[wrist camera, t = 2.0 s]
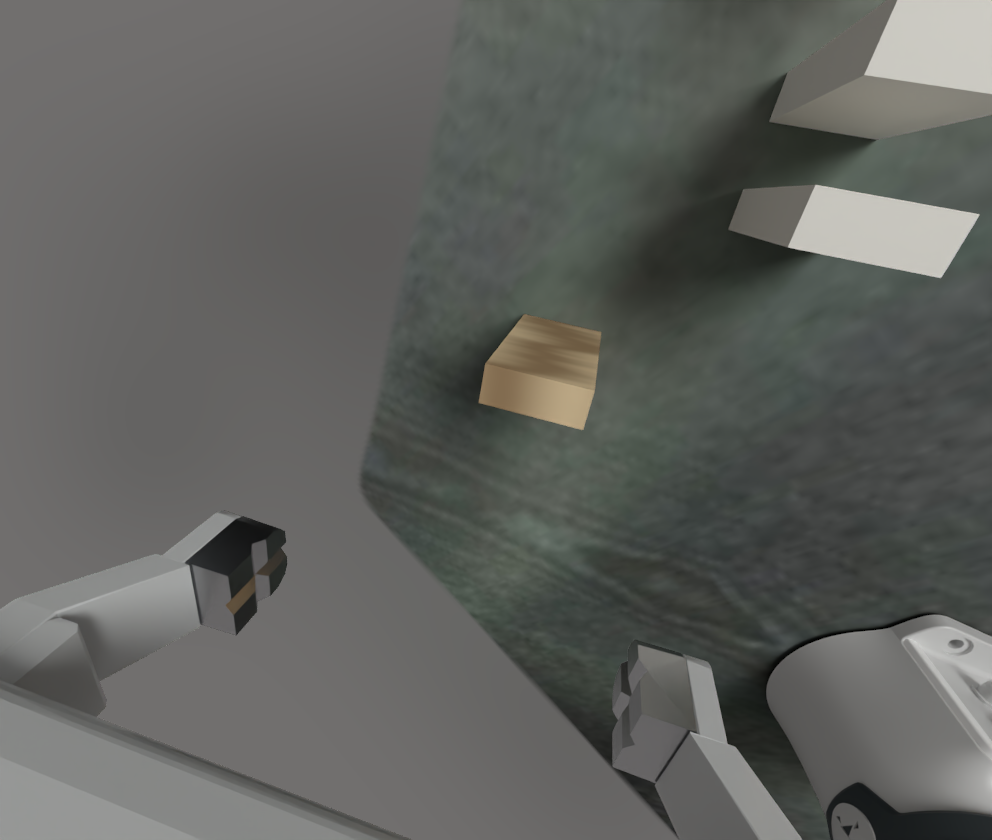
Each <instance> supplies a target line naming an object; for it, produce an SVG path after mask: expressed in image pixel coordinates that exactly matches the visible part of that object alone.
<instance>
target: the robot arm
mask: <svg viewBox="0 0 992 840" xmlns="http://www.w3.org/2000/svg"><path fill="white" fill-rule="evenodd" d="M285 543H286V538H285V531H283V530H281V529H278V528H276V527H273V526H270V525H267V524H264V523H261V522H258V521H255V520H253V519H250V518H247V517H244V516H240V515H237V514H234V513H231V512H228V511H225V510H224V511H220V512H218V513H216V514H214V515H213V516H211V517H210V518H209V519H208V520H206V521H205V522H204V523H203V524H201V525H200V526H199V527H198V528H196V529H195V530H194V531H193V532H191V533H190V534H189V535H187V536H186V537H185V538H184V539H182V540H181V541H180V542H179V543H178V544H176V545H175V546H173V547H172V548H171V549H170V550H169V551H167V552H166V553H165V554H163V555H162V556H161V555H158V554H154V555H151V556H148V557H145V558H142V559H138V560H136V561H132V562H129V563H126V564H123V565H120V566H117V567H114V568H110V569H108V570H104V571H101V572H98V573H95V574H92V575H89V576H86V577H82V578H80V579H76V580H74V581H70V582H67V583H64V584H61V585H58V586H54V587H52V588H48V589H45V590H42V591H39V592H36V593H33V594H29V595H26V596H23V597H20V598H17V599H15V600H14V601H12V602H10V603H9V604H7V605H6V606H4V607H3V608H1V609H0V840H412V839H409V838H407V837H403V836H401V835H399V834H396V833H393V832H391V831H389V830H386V829H383V828H381V827H378V826H376V825H373V824H371V823H368V822H365V821H363V820H360V819H358V818H355V817H353V816H350V815H347V814H345V813H342V812H340V811H337V810H335V809H332V808H329V807H327V806H324V805H322V804H319V803H317V802H314V801H311V800H309V799H306V798H304V797H301V796H299V795H296V794H293V793H291V792H288V791H286V790H283V789H281V788H278V787H275V786H273V785H270V784H268V783H265V782H262V781H260V780H257V779H255V778H252V777H250V776H247V775H245V774H242V773H239V772H237V771H234V770H231V769H229V768H226V767H224V766H221V765H219V764H216V763H213V762H211V761H209V760H206V759H203V758H201V757H198V756H196V755H193V754H190V753H188V752H185V751H183V750H180V749H178V748H175V747H172V746H170V745H167V744H165V743H162V742H160V741H157V740H154V739H152V738H149V737H147V736H144V735H142V734H139V733H136V732H134V731H131V730H129V729H126V728H123V727H121V726H118V725H116V724H113V723H111V722H108V721H105V720H103V719H100V718H98V717H97V716H98V715H99V714H100V713H101V711H102V710H104V709H105V707H106V697H105V695H104V692H103V689H102V687H101V684H100V681H101V680H103V679H105V678H107V677H109V676H110V675H112V674H114V673H116V672H118V671H120V670H122V669H123V668H125V667H127V666H129V665H131V664H133V663H134V662H136V661H138V660H140V659H142V658H144V657H146V656H148V655H149V654H151V653H153V652H155V651H157V650H159V649H161V648H162V647H164V646H166V645H168V644H170V643H172V642H174V641H175V640H177V639H179V638H181V637H183V636H185V635H187V634H188V633H190V632H192V631H194V630H196V629H198V628H199V627H200V624H201V625H204V626H207V627H210V628H214V629H217V630H220V631H223V632H227V633H230V634H233V635H237V634H238V633H239V631H241V629H242V628H243V627H244V626H245V625H246V624H247V622H248V621H249V620H250V619H251V618H252V616H254V614H255V613H256V612H257V603H258V601H260V600H262V599H265V598H267V597H269V596H271V595H272V593H273V592H274V591H275V590H276V589H277V587H278V586H279V584H280V582H281V580H282V578H283V576H284V575H285V571H286V566H287V556H286V555H285V553H284V552H283V550H282V549H281V547H282V546H283V545H284V544H285ZM627 652H628V661H626V662H624V663H621V665H620V667H619V670H618V672H617V675H616V679H615V683H614V688H613V701H612V710H613V712H614V714H615V716H616V718H617V719H618V722H617V724H616V726H615V728H614V730H613V732H612V759H613V767H614V768H617V769H619V770H622V771H625V772H627V773H630V774H632V775H635V776H638V777H640V778H643V779H646V780H648V781H651V782H654V783H656V784H655V787H656V789H657V792H658V794H659V796H660V798H661V800H662V803H663V805H664V807H665V809H666V811H667V813H668V816H669V818H670V820H671V822H672V824H673V826H674V829H675V831H676V833H677V835H678V837H679V839H680V840H802V839H801V837H800V836H799V834H798V833H797V832H796V830H795V829H794V828H793V826H792V825H791V823H790V822H789V821H788V819H787V818H786V816H785V815H784V814H783V812H782V811H781V809H780V808H779V807H778V805H777V804H776V802H775V801H774V800H773V798H772V797H771V795H770V794H769V793H768V791H767V790H766V789H765V787H764V786H763V784H762V783H761V782H760V780H759V779H758V777H757V776H756V775H755V773H754V772H753V770H752V769H751V768H750V766H749V765H748V763H747V762H746V761H745V759H744V758H743V756H742V755H741V754H740V752H739V751H738V749H737V748H736V747H735V746H732V745H729V744H728V743H727V739H726V734H725V729H724V725H723V720H722V715H721V711H720V706H719V702H718V697H717V692H716V688H715V683H714V678H713V674H712V669H711V666H710V665H709V663H708V662H707V661H703V660H700V659H697V658H694V657H690V656H687V655H684V654H681V653H678V652H675V651H672V650H668V649H665V648H662V647H658V646H655V645H652V644H648V643H645V642H642V641H638V640H634V641H632V642H631V644H630V646H629V648H628V650H627ZM766 697H767V702H768V705H769V708H770V710H771V712H772V713H773V715H774V717H775V718H776V720H777V721H778V723H779V724H780V726H781V728H782V729H783V731H784V732H785V734H786V736H787V738H788V739H789V741H790V743H791V745H792V747H793V749H794V750H795V752H796V754H797V756H798V758H799V760H800V762H801V764H802V766H803V768H804V770H805V772H806V774H807V776H808V779H809V781H810V783H811V785H812V787H813V789H814V791H815V794H816V796H817V798H818V800H819V802H820V805H821V807H822V809H823V812H824V814H825V817H826V819H827V823H828V828H829V833H830V838H831V840H992V637H991V636H989V635H986V634H984V633H982V632H980V631H978V630H976V629H973V628H971V627H969V626H967V625H965V624H962V623H960V622H958V621H956V620H954V619H952V618H949V617H947V616H943V615H927V616H922V617H919V618H915V619H912V620H909V621H907V622H904V623H901V624H898V625H896V626H893V627H891V628H886V629H880V630H871V631H860V632H851V633H845V634H839V635H835V636H830V637H827V638H823V639H820V640H817V641H815V642H812V643H810V644H807V645H805V646H803V647H801V648H799V649H798V650H796V651H794V652H793V653H791V654H790V655H788V656H787V657H786V658H785V659H783V660H782V661H781V662H780V663H779V664H778V665H777V667H776V668H775V669H774V671H773V672H772V674H771V676H770V678H769V680H768V684H767V689H766Z"/></svg>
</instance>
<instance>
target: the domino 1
mask: <svg viewBox="0 0 992 840" xmlns="http://www.w3.org/2000/svg"><path fill="white" fill-rule="evenodd" d="M600 340H601V332H599V331H595V330H590V329H586V328H582V327H577V326H573V325H569V324H565V323H560V322H556V321H552V320H547V319H543V318H539V317H535V316H530V315H526V314H524V315H523V316H522V318H521V319H520V320H519V321H518V323H517V324H516V325H515V327H514V328H513V329H512V330H511V332H510V333H509V334H508V335H507V337H506V338H505V339H504V340H503V342H502V343H501V344H500V346H499V347H498V348H497V349H496V351H495V352H494V353H493V354H492V356H491V357H490V358H489V360H488V361H487V362H486V363H485V369H484V374H483V380H482V386H481V392H480V398H479V403H481V404H485V405H489V406H493V407H496V408H500V409H504V410H508V411H512V412H516V413H519V414H523V415H527V416H531V417H535V418H538V419H542V420H546V421H550V422H554V423H558V424H561V425H565V426H569V427H573V428H577V429H580V430H583V428H584V425H585V422H586V418H587V415H588V412H589V408H590V405H591V402H592V398H593V395H594V392H595V384H596V375H597V366H598V358H599V349H600Z"/></svg>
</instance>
